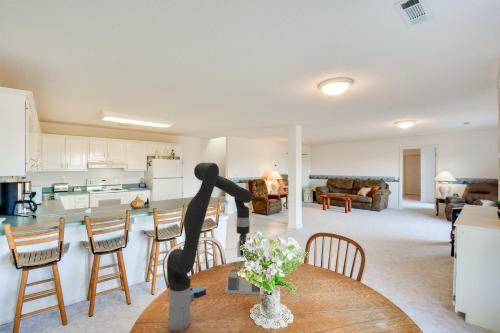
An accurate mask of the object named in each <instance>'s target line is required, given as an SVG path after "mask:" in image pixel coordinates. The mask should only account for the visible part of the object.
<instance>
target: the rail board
mask: <svg viewBox="0 0 500 333" xmlns="http://www.w3.org/2000/svg"><path fill="white" fill-rule="evenodd" d="M238 270H239V269H230V273H229V275H228V279H227V282H226V285H225V288H224V293H225V294H227V293H228V294H238V295H239V294H241V295H258V296H259V295H260V288H259V287H257V286H255V285H254V284H252V283H249V282H247V281H246V280H245V279H246V278H245V279H244V278H240V276H238V274H237V271H238ZM260 296H261V295H260Z"/></svg>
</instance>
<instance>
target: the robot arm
mask: <svg viewBox="0 0 500 333" xmlns="http://www.w3.org/2000/svg"><path fill="white" fill-rule="evenodd" d="M193 173H194V176H195V178H196V179H197V180H198V181H201V184H200V187H199V190H197V192H196V193H195V195H194V196H193V197H192V199H191V200H190V201H189V203H188V205H187V208H186V210H185V214H184V216H183V217H184V218H183V229H184V242H183V243H184V244H183V248H182V249H181V248H175V249H173V250H172V251H170V252H169V254H168V257H167V260H166V276H167V278H166V279H167V282H168V286H169V287H168V292H169V293H168V331H171V332H172V331H173V332H174V331H175V332H183V331H184V330H185V329H187V328H188V327H189V326H190V325H191V302H190V289H191V288H192V287H191V284H192V281H191V278H190V276H189V275H188V274H189V273H190V272H191V271H192V270H193V267H194V265H195V262H196V258H197V251H198V246H199V243H200V242H199V241H200V237H201V233H202V229H203V226H204V223H205V219H206V215H207V212H208V209H209V208H208V207H209V205H210V201H211V198H212V194H213V192H214V189H215V187H216V188H217V189H219V190H221V191H222V192H224V193H226V194H227V195H229V196H230V197H232V198H234V203H235V207H236V233H237V235H238V234H239V236H238V237H239V238H238V239H239V240H238V241H240V246H241V245H243V244H245V243H244V242H246V241H247V238H248V236H247V234H250V225H251V224H250V221H251V220H250V208H249V207H248V206H247V205H245V204H248V203H251V201H252V200H253V194H252V192H251V191H250V190H248V189H246V188H244V187H243V186H239V185H238V184H237V183H235V182H234V181H232V180H230V179H229V178H227V177H226V178H225V177H224V176H221V175H220V168H219V166H218V164H217V163H215V162H199V163H198V164H196V165H195V167H194V169H193ZM241 256H243V251H242V250H241Z"/></svg>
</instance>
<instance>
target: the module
mask: <svg viewBox="0 0 500 333" xmlns="http://www.w3.org/2000/svg"><path fill="white" fill-rule="evenodd" d="M244 243H245V242H244ZM236 245H237V246H236V247H237V249H236V250H237V251H236V252H237V254H236V255H237V256H236V257H237V258H245V257H244V256H241V250H240V241H239V240H237V243H236Z"/></svg>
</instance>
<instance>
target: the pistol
mask: <svg viewBox="0 0 500 333" xmlns="http://www.w3.org/2000/svg"><path fill="white" fill-rule="evenodd" d="M167 292H168V294H169V291H167ZM206 294H207V289H206V288H205V287H203V286H202V285H200V286H197V287H193V288H192V287H191V289H190V303H192V302H194V301H195V298H200V297H202V296H204V295H206Z"/></svg>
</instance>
